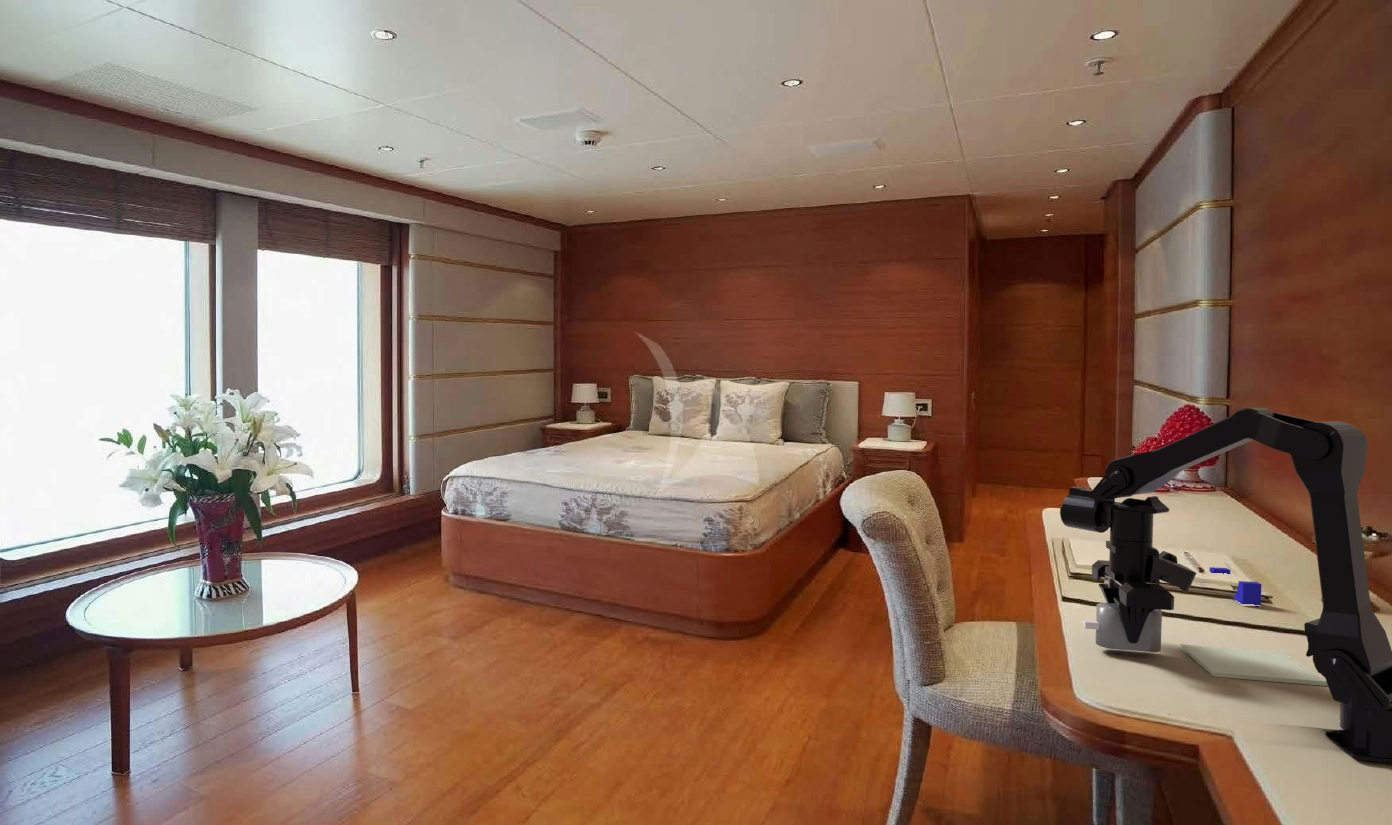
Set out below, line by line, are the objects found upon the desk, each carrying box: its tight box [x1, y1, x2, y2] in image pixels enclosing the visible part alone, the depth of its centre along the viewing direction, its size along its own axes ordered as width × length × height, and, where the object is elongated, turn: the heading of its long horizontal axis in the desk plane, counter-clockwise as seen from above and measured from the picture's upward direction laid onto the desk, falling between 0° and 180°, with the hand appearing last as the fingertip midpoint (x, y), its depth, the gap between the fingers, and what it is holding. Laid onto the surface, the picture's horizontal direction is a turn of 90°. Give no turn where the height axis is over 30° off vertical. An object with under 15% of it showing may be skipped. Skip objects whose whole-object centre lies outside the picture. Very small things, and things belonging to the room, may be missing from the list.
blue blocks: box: [1208, 567, 1262, 605], centre depth 143 cm, size 12×4×6 cm, turn 171°
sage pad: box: [1179, 643, 1328, 687], centre depth 112 cm, size 12×14×1 cm
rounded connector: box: [1082, 602, 1163, 653], centre depth 117 cm, size 4×11×6 cm, turn 77°
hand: (1128, 638), depth 117 cm, fingers closed on rounded connector, 4 cm apart
